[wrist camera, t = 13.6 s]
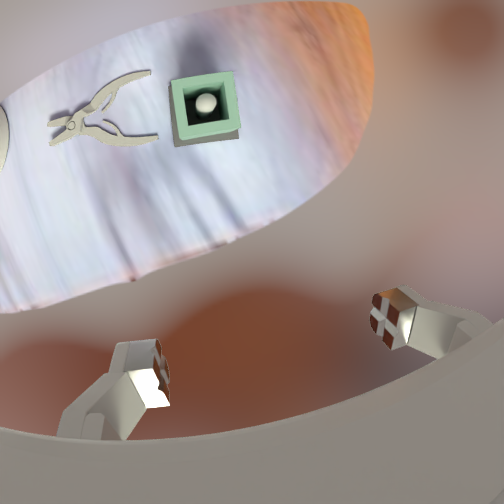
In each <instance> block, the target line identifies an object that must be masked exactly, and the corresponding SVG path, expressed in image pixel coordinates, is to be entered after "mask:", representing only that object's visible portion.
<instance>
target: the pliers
mask: <svg viewBox="0 0 504 504" xmlns="http://www.w3.org/2000/svg"><path fill="white" fill-rule="evenodd" d="M149 75H151V71H144V72H136V73H132V74H129V75H126V76H123V77H121V78H119V79H117V80H115V81H113V82H111V83H110V84H108V85H107V86H105V87H104V88H103V89H102V90H101V91H99V92H98V93H97V94H96V96H95V97H94V98H93V100H92V101H91V103H90V104H89V105H87V106H86V107H84V108H83V109H81V110H80V111H78V112H76V113H75V114H74V116H65V117H62V118H59V119H56V120H53V121H50V122H48V124H47V127H55V126H66V128H67V129H66V130H65V131H64V132H63V133H61V134H60V135H58V136H57V137H56V138H54V139H53V140H51V141H50V142H49V145H50V146H55V145H58V144H60V143H62V142H65V141H67V140H69V139H72V137H74V136H75V135H77V134H79V135H89V136H92V137H94V138H96V139H97V140H99V141H100V142H102V143H105V144H108V145H113V146H137V145H142V144H146V143H149V142H152V141H154V140H157V139H158V135H157V136H148V137H124V136H123V135H122V134H121V132H120V131H119V129H118V128H117V127H116V126H115V125H113V124H111V123H109V122H106V121H103V123H106V124H108V125H110V126H112V127H113V128H114V129H115V131H116V133H117V136H115V135H112V134H110V133H108V132H106V131H104V130H102V129H101V128H99V127H86V126H85V124H84V121H83V119H84V117H86V116H89V115H90V114H92V113H94V112H95V111H97V109H98V108H99V107H100V105H101V104H102V103H103V101H104V100H105V99H106V98H107V97H108V96H109V95H110V94H111V93H112V92H113V93H112V98H111V100H110V102H109V104H108V105H107V106H106V107H105V109H104V110H103V111H102V113H104V112H105V111H106V110H107V109H108V108H109V107H110V106H111V104H112V103H113V101H114V99H115V96H116V93H117V91H118V89H119V88H120V87H122V86H124V85H126V84H128V83H130V82H132V81H134V80H137V79H140V78H143V77H146V76H149Z"/></svg>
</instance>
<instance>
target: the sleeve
mask: <svg viewBox="0 0 504 504" xmlns="http://www.w3.org/2000/svg"><path fill="white" fill-rule="evenodd" d="M171 85H172V92H173V99H174V106H175V113H176V120H177V126H178V132H179V138H180V139H181V140H187V139H193V138H198V137H203V136H209V135H215V134H221V133H227V132H232V131H234V130H236V129H239V128H241V123H240V116H239V110H238V103H237V96H236V90H235V83H234V77H233V71H229V72H220V73H212V74H205V75H199V76H193V77H187V78H181V79H176V80H171ZM205 93H208V94H211V95H213V96H217V101H218V107H219V114H220V121H214V122H208V123H203V124H197V125H192V126H188V121H187V115H186V108H185V101H187V100H192V99H197V98H198V97H199V96H200V95H202V94H205Z"/></svg>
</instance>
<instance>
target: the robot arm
mask: <svg viewBox="0 0 504 504" xmlns="http://www.w3.org/2000/svg"><path fill="white" fill-rule="evenodd" d="M8 142H9V129H8V122H7V118H6V115H5V113H4V111H3V109H2V108H1V106H0V172H1V170H2V168H3V165H4V162H5V159H6V155H7V150H8ZM372 305H373V306H374V308H373V309H372V311H371V312H370V325H371V328H372V329H373V331H374V332H375V333H376V334H377V335H379V336H382V341H383V342H384V343H385V344H386V346H387V347H388V348H389V349H390V350H394V349H396V348H399V347H402V346H404V345H407V344H408V346H411V347H413V348H415V349H417V350H419V351H422V352H424V353H426V354H428V355H430V356H433V357H435V358H437V360H435V361H434V362H432V363H430V364H428V365H426V366H424V367H422V368H420V369H418V370H416V371H414V372H412V373H410V374H408V375H406V376H404V377H402V378H399V379H397V380H395V381H393V382H390V383H388V384H386V385H384V386H381V387H379V388H377V389H374V390H372V391H369V392H367V393H364V394H362V395H359V396H356V397H354V398H351V399H348V400H345V401H343V402H340V403H337V404H334V405H331V406H328V407H325V408H322V409H319V410H315V411H312V412H309V413H305V414H302V415H298V416H295V417H291V418H287V419H284V420H280V421H275V422H272V423H267V424H263V425H258V426H253V427H249V428H244V429H238V430H233V431H227V432H221V433H214V434H208V435H200V436H191V437H182V438H170V439H155V440H130V441H129V440H126V439H127V437H128V436H129V434H130V433H131V431H132V430H133V428H134V427H135V425H136V424H137V423H138V421H139V420H140V418H141V417H142V415H143V414H144V412H145V411H146V408H150V407H159V406H167V405H169V389H168V387H167V384H168V383H169V382H170V379H169V378H170V376H169V369H168V365H167V361H166V358H165V357H164V356H163V355H161V350H162V348H161V345H160V343H159V340H158V339H150V340H140V341H131V342H121V343H118V344H116V347H115V350H114V354H113V358H112V362H111V365H110V369H109V373H105V374H104V375H102V376H101V377H100V378H99V379H98V380H97V381H96V382H95V383H94V384H92V385H91V386H90V387H89V388H88V389H87V390H86V391H85V392H84V393H83V394H81V395H80V396H79V397H78V398H77V399H76V400H75V401H74V402H73V403H72V404H71V405H69V406H68V407H67V408H66V409H65V410H64V411H63V414H62V417H61V420H60V424H59V427H58V431H57V435H56V437H53V436H47V435H40V434H32V433H28V432H22V431H17V430H12V429H7V428H3V427H0V504H504V318H502V319H501V320H500V321H498V322H497V323H495V324H493V323H491V322H490V321H489V320H488V319H486V318H485V317H484V316H482V315H481V314H480V313H478V312H475V311H471V310H467V309H463V308H459V307H455V306H451V305H447V304H442V303H438V302H434V301H427V300H426V299H424V298H423V297H422V296H421V295H419V294H418V293H416V292H415V291H414V290H412V289H411V288H410V287H408V286H407V285H401V286H398V287H395V288H393V289H390V290H387V291H383V292H380V293H376V294H374V295H373V297H372Z"/></svg>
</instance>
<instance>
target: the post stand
mask: <svg viewBox="0 0 504 504" xmlns="http://www.w3.org/2000/svg"><path fill="white" fill-rule="evenodd" d="M168 89H169V100H170V110H171V120H172V129H173V138H174V146H175V147H179V146H186V145H192V144H199V143H206V142H214V141H222V140H231V139H239V135H238V129H236V130H234V131H232V132H227V133H221V134H215V135H209V136H203V137H198V138H193V139H187V140H181V139H180V138H179V132H178V126H177V120H176V113H175V106H174V99H173V92H172V86H168ZM185 108H186V115H187V121H188V126H192V125H197V124H203V123H208V122H214V121H220V114H219V107H218V101H217V96H213V95H211V94H208V93H205V94H202V95H200V96H199V97H198V98H197V99H192V100H187V101H185Z"/></svg>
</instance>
